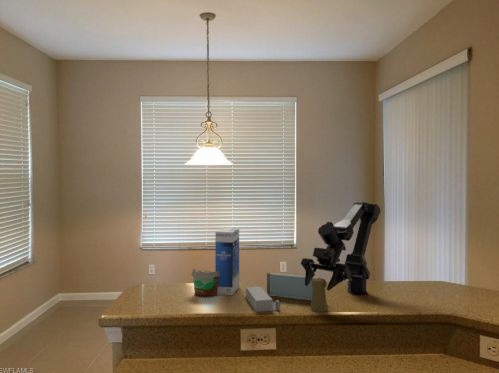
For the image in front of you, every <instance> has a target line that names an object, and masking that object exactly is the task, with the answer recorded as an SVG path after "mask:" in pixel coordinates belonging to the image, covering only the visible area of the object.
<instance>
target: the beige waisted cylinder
mask: <svg viewBox="0 0 499 373" xmlns="http://www.w3.org/2000/svg"><path fill="white" fill-rule="evenodd" d="M314 278H315V279H313V280H312V287H313V294H312V300H311V303H310V310H311V311H312V312H316V313H326V312H327V311H328V303H327V296H326V295H327V294H326V288H327V281H326V279H324V278H321V277H314Z"/></svg>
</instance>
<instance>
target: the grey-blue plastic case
mask: <svg viewBox="0 0 499 373" xmlns="http://www.w3.org/2000/svg"><path fill="white" fill-rule="evenodd" d="M270 274H271V272H266V291H265V289H264V288H263V287H262V286H247V287H245V299H247V301H248V303H249V304H250V306H251V307H252V309H253V310H254V311H255V313H262V312H274V311H275V312H277V311H281V305H280V301H279V300H278V299H276V300H275V303H274V301H273V298H272V297H271V295H270Z"/></svg>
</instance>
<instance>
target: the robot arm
mask: <svg viewBox="0 0 499 373" xmlns="http://www.w3.org/2000/svg"><path fill="white" fill-rule="evenodd" d="M380 214H381V207H380V206H379V205H378V204H377V203H368V202H366V201H355V202H354V203H353V206H352V207H351V209H350V210H349V211H348V212H347V214H346V215H345V217H344V218H343V219H342V220H340V221H337V222H336V223H335V224H334V223H333V222H332V221H326V223H325V224H323V225H321V226H320V227H318V231H317V233H318V235H319V236H320V238H321V240H322V242H323V243H324V244H325V245H326V248H323V247H314V248H313V253H312V257H315V258H316V261H317V262H318V263H316V262H315V261H314V259H312V258H309V257H308V258H307V257H304V258H302V260H301V262H300V265H301V266H302V267H303V269H304V271H305V275H304V277H305V286H307V285H308V284H309V283H310V281H311V280H312V278H313V277H314V278H315V275H316V274H315V273H316V272H317V270H321V271H326V272H331V273H332V276H331V277H330V280H329V282H328V284H327V286H326V291H328V292H330V291H331V290H332V289H334V287H336V286H337V285H339V284H340V283H342V282H344V281H346V280H347V290H346V291H347V292H349V293H351V294H352V295H366V294H367V295H368V294H369V292H368V291H367V280H369V279H370V276H371V272H370V270H369V268H368V267H367V265H368V262H367V259H366V257H365V256H366V251H367V246H368V243H369V239H370V234H371V230H372V226H373V224H374V223H376V221H378V219H379V215H380ZM359 220H360V222H359V226H358V231H357V234H356V238H355V243H354V246H353V250H352V252H351V253H348V254H346V257H345V261H344V263H340V262H341V259H340V256H341V255H342V252H343V251H346V250H347V249H346V248H347V247H346V246H345V245H346V244H345V243H344V242H343V241H346V242H350V240H351V239H352V237H353V235H354V233H355V232H354V228H355V226H356V225H357V223H358V221H359Z"/></svg>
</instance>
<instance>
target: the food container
mask: <svg viewBox="0 0 499 373" xmlns="http://www.w3.org/2000/svg"><path fill="white" fill-rule="evenodd" d="M218 276H220V273H219V271H216V272H215V271H210V270H196V269H195V268H193V269H192V271H191V277H192V278H193V289H194V296H196V297H198V298H212V297H215V296H218V294H217V287H218Z"/></svg>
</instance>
